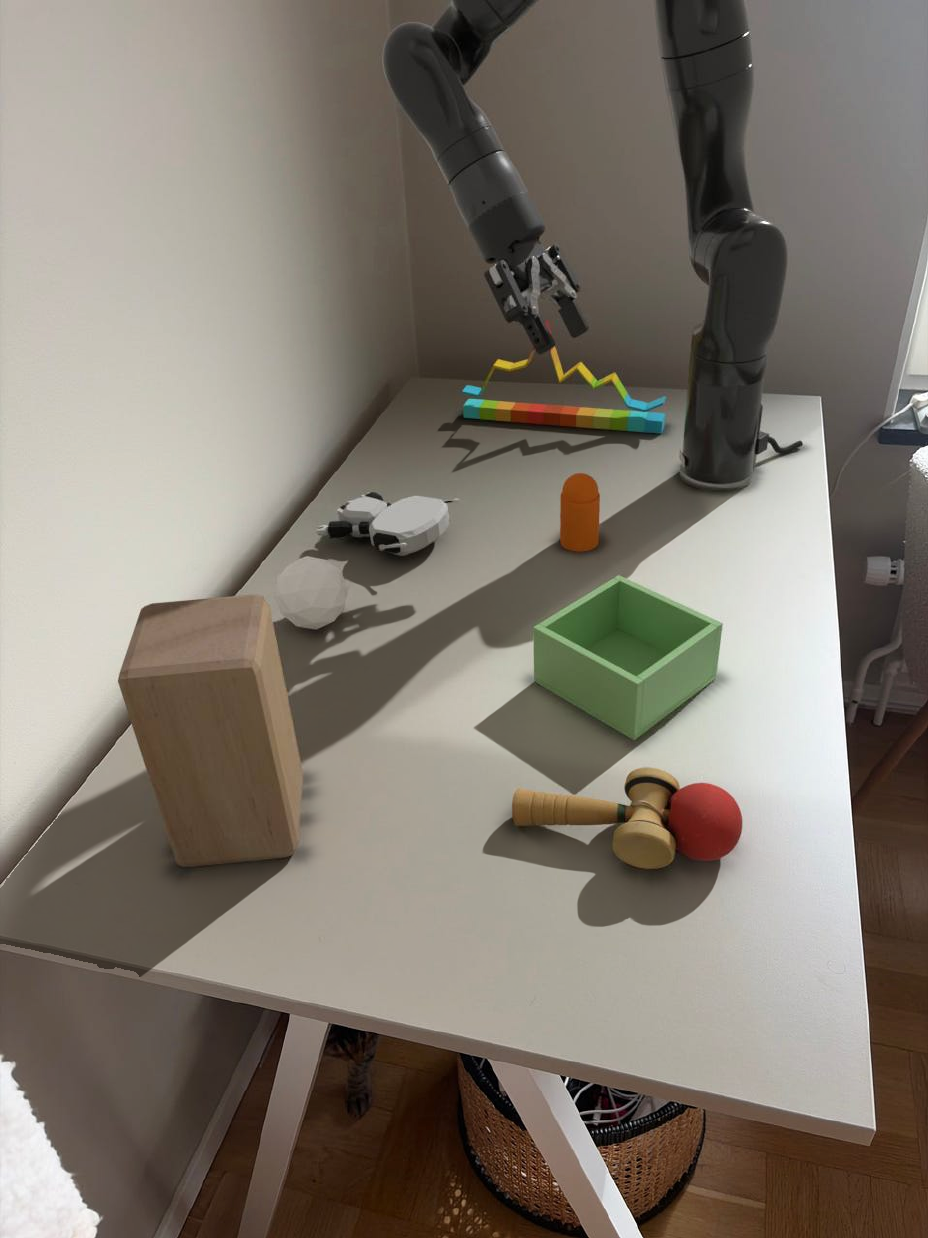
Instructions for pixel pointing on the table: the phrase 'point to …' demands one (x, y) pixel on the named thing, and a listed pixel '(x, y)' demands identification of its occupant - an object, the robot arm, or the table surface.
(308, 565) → the geometric ball
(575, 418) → the chart
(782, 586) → the table surface
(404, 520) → the robot toy
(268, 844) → the block
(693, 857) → the kendama
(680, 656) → the bin
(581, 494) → the orange peg figure
